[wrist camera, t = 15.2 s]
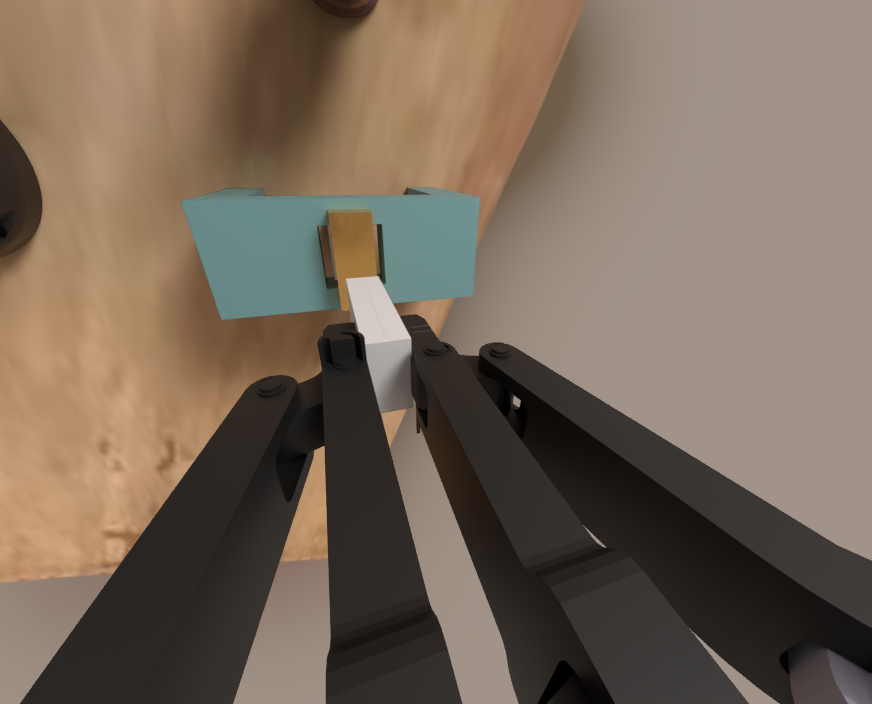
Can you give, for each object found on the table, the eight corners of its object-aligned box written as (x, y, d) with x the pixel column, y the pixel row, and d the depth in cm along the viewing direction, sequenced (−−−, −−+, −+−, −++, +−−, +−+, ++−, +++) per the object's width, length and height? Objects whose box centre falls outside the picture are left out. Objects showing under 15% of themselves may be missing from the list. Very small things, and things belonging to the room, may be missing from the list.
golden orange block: (333, 263, 36) (339, 311, 24) (323, 195, 33) (325, 212, 21) (362, 261, 37) (381, 307, 25) (356, 194, 33) (375, 211, 22)
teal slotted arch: (251, 272, 35) (221, 320, 24) (228, 188, 31) (180, 201, 20) (433, 261, 40) (472, 295, 29) (433, 187, 36) (479, 197, 25)
